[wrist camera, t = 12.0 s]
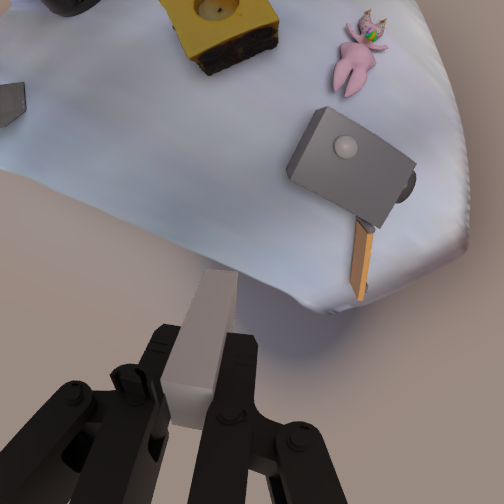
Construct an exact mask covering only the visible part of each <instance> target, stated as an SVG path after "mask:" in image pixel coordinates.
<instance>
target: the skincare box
mask: <svg viewBox="0 0 504 504" xmlns="http://www.w3.org/2000/svg"><path fill="white" fill-rule="evenodd" d="M25 111H26V106H25V97H24V83H23V82H20V83H12V84H4V85H0V128H1V127H5V126H7V125H8V124H9V123H10V122H12V121H13V120H14V119H15V118H17V117H18V116H19V115H21V114H22V113H23V112H25Z"/></svg>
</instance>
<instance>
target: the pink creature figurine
mask: <svg viewBox="0 0 504 504" xmlns="http://www.w3.org/2000/svg"><path fill="white" fill-rule="evenodd" d="M370 10H371V9H370ZM370 10H369V11H366V12H365V13H366V15H365V16H363V17H362V18H361V19H360V21H359V27H360V30H361V35H357V34H356V33H354V31H353V30H352V28H351V25H350V24H346V26H347V28H348V30H349V32H350V33H351V35H352V36H353V37H354V38H355V39H356V41H357V42H358V43H343V44H341V45H340V49H341V56H342V59H341V60H339V61H338V62H337V64H336V66H335V71H334V77H333V88H334V91H335V92H336V91H337V90H338V89H339V88H340V87H341V86H342V85H343V83H344V82H345V81H346V79H347V77H348V75H349V73H350V71H351V69H353V72H352V74H351V77H350V79H349V81H348V84H347V88H346V92H345V95H344V96H345V97H349V96H351V95H353V94H355V93H356V92H358V91H359V90H360V89H361V88H362V87H363V85H364V84H365V82H366V80H367V74H366V72H367V70H369V69H370V68H372V67H374V66H375V65H376V61H375V58H374V56H373V54H372V52H371V51H370V50H369V49H368V48H371V49H376V50H384V49H388V47H387V46H376V45H374V44H373V42H374V41H376V38H378V37H380V36H382V35H383V32H384V27H385V22H386V19H387V18H386V19H384V20H381V22H382V23H379V24H373V23H372V22H371V19H370ZM379 21H380V20H379Z"/></svg>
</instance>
